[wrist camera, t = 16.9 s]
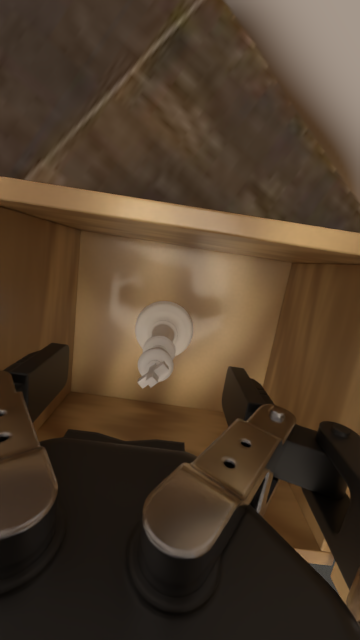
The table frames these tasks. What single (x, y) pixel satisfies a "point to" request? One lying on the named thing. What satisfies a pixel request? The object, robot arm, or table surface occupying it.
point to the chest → (203, 308)
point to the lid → (339, 583)
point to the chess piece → (161, 339)
